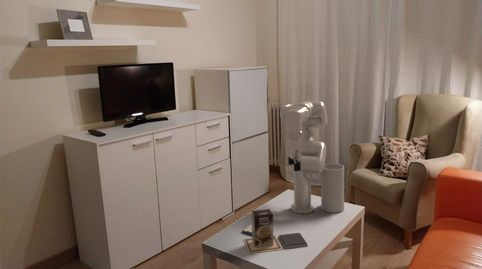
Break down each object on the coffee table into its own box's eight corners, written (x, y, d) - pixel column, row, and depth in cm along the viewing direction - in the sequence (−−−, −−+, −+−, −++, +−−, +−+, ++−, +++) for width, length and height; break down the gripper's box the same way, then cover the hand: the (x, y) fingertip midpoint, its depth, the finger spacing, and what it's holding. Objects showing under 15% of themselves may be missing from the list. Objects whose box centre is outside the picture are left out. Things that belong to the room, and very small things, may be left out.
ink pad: (278, 237, 182) (278, 234, 182) (299, 234, 184) (299, 232, 184) (284, 249, 172) (284, 246, 171) (307, 246, 174) (307, 243, 173)
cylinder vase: (326, 203, 221) (326, 162, 216) (347, 207, 213) (347, 165, 209) (317, 210, 211) (317, 167, 206) (339, 214, 203) (339, 170, 199)
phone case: (258, 221, 201) (241, 233, 189) (258, 218, 201) (241, 230, 188) (272, 225, 196) (255, 237, 184) (272, 222, 196) (255, 234, 183)
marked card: (243, 239, 181) (243, 238, 181) (275, 235, 184) (275, 234, 184) (248, 253, 169) (248, 252, 169) (282, 249, 172) (282, 248, 171)
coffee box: (255, 248, 173) (254, 216, 169) (252, 241, 179) (251, 210, 175) (274, 245, 174) (273, 214, 171) (270, 239, 181) (269, 208, 177)
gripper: (281, 131, 190) (282, 162, 194) (291, 139, 173) (292, 174, 177) (296, 129, 191) (296, 161, 195) (307, 138, 174) (307, 172, 178)
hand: (294, 167), depth 186 cm, fingers open, 9 cm apart
